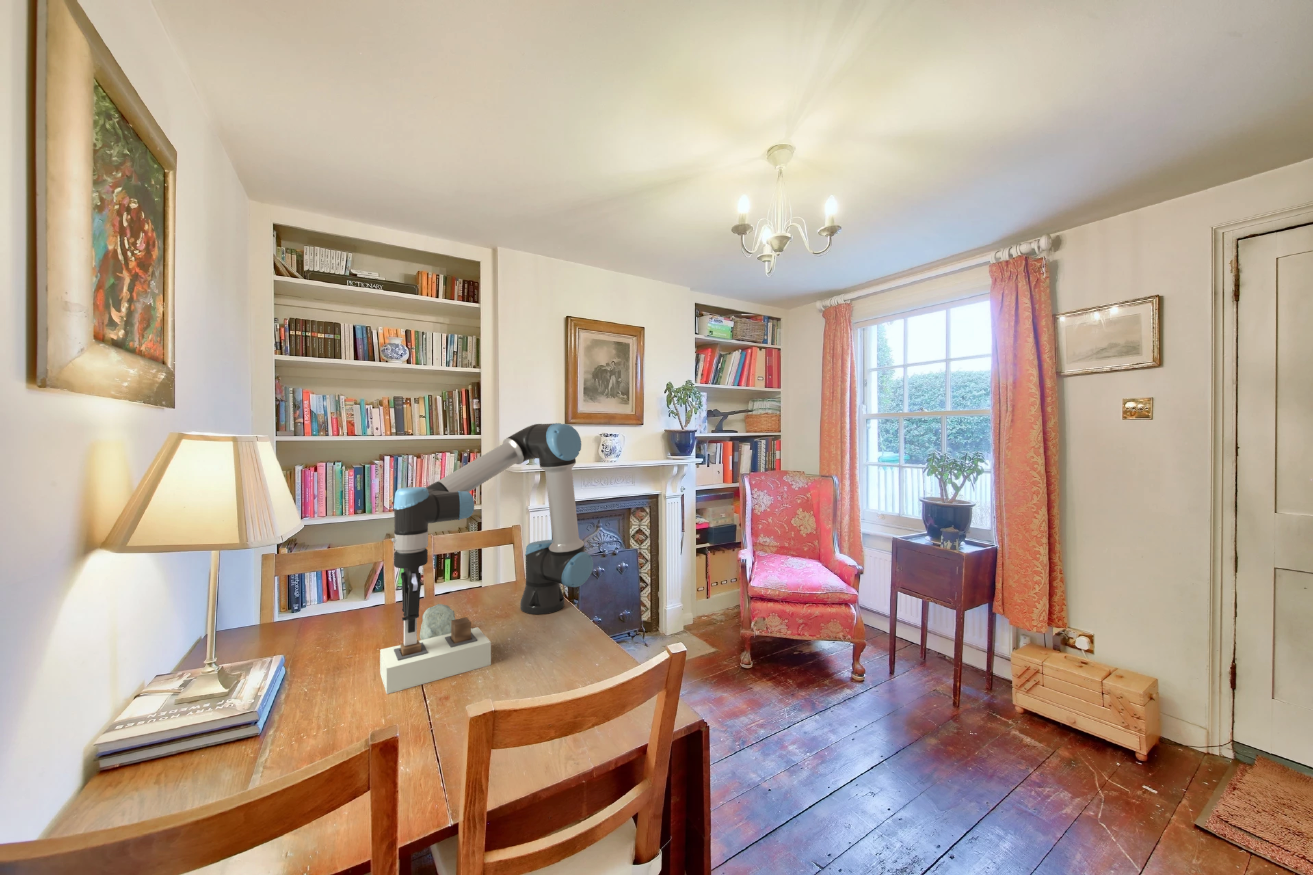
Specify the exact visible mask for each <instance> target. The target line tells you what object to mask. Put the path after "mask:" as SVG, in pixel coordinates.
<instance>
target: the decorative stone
mask: <svg viewBox="0 0 1313 875" xmlns="http://www.w3.org/2000/svg"><path fill="white" fill-rule="evenodd" d="M455 616H456V615H455V611H454V610H453V609H452V608H451V607H450V606H449V605H446V604H444V603H438V604H435V605H434V606H430V607H428V608H427V609H425V611H424V612H423V614H422V621H421V624H420V632H419V638H420V640H424V639H428V638H433V637H437V636H441V635H446V634H450V633H451V620H456V617H455Z"/></svg>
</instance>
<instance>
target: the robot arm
mask: <svg viewBox="0 0 1313 875" xmlns="http://www.w3.org/2000/svg"><path fill="white" fill-rule="evenodd" d="M581 440H582V439H581V436H580V434H579V431H577V429H575V428H574V427H573V425H570V424H566V423H560V422H555V423H553V422H552V423H535V424H531V425H529V426H526V427H524V428H523V429H521V430H519V431H517V432H515V433H513V434H511V435H510V436H508V437H506V438H504V439H503V441H502V444H501V445H499V446H496V447H495V448H494V449H491V450H489V451H488V452H486V453H485V454H482V455H481V456H479V457H477V458H475V459H474V460H473V461H471V462H469V463H467V464H466V465H464V466H462V467H460V468H458V469H457V470H455V471H453V472H451V473H449V474H448V475H446V476H444V477H443V478H441V479H438V480H437V481H435V482H433V483H432V484H430V485H428V486H426V487H425V486H413V487H412V486H409V487H400V488H398V489H397V490H396V491H395V492H394V493H395V495H394V499H393V500H394V502H393V503H394V504H393V509H394V510H393V511H394V512H393V513H394V514H393V518H394V519H393V520H394V522H393V523H394V524H393V525H394V533H393V534H394V537H392V538H391V542H392V543H393V545H394V546H393V549H394V550H395V552H393V566H394V568H397V569H403V571H402V572H401V573H400V579H401V595H402V598H401V599H402V611H401V612H402V613H403V617H401V618H402V619H401V620H402V621H403V643H404V646H407V645H412V644H416V643H417V640H418V639H417V638H418V618H419V617H420V600H421V599H420V597H421V589H422V588H421V587H422V582H421V579H422V573H421V572H420V570H419V568H420V567H423V566H425V565H427V563H428V558H429V557H428V555H429V554H428V552H429V551H428V549H427V547H428V546H429V524H434V523H443V522H450V521H451V522H452V521H461V520H463V519H468V518H470V517H471V516H472V515H473V514H474V511H475V499H474V496H473V495H472V493H471V492H472V491H473V490H474V489H476V488H478V487H479V486H481V485H483V484H484V483H486V482H488V481H489V480H491V479H492V478H493V477H496V476H497V475H499V474H500V473H502V472H504V471H506V470H507V469H509V468H510V467H512V466H513V465H515V464H516V465H521V464H522V463H524V462H526V461H529V460H535V459H538V460H539V462H538V463H539V468H540V469H542V470H543V471H544V472H545V482H546V491H547V499H548V511H549V518H550V527H551V537H552V539H545V540H538V541H537V540H536V541H533V542H529V543H528V544H527V545H526V546H525V547H526V548H525V555H524V556H525V587H524V591H523V593H522V596H521V599H520V603H519V604H520V609H519V610H521V611H522V612H523V613H526V614H531V615H545V614H551V613H555V612H557V611H560V610H562V609H563V608H564V607H565V597H564V593H563V590H562V587H561V585H562V586H564V587H571V588H578V587H580V586H583V585H584V584H585V583H586V582H587V581H588V579H589V577H590V576H591V575H592V573H593V569H594V560H593V557H592V555H590V553H588V552H586V549H585V543H584V541H583V540H582V539H581V538H580V535H579V526H578V516H577V507H576V496H575V488H574V477H573V467H574V466H575V465H576V463H577V462H576V460H577V459H576V458H577V457H579V455H580V452H581V450H582V441H581ZM563 606H564V607H563ZM561 608H562V609H561Z"/></svg>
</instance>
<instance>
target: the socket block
mask: <svg viewBox="0 0 1313 875" xmlns="http://www.w3.org/2000/svg"><path fill="white" fill-rule="evenodd" d="M419 642H420V644H421V652H418V653H414V654H410V655H406V656H402V655H401V644H399V645H394V646H390V647H385V648H381V649H380V650H379V652H380V653H379V664H380V665H379V668H380V669H379V673H380V677H381V682H382V683H383V686H384V690H385V693H386V695H388V694H389V695H390V694H392V693H396V692H399V691H400V692H401V691H403V690H407V689H410V688H414V687H417V686H420V685H425V684H427V683H431V682H436V681H439V680H441V679H445V678H450V677H452V676H455V675H460V674H464V673H467V672H471V671H475V670H478V669H482V668H485V667H489V666H491V665H492V642H491V640H490V639H489V638H488V637H487V636H486V635H485V633H483V631H482V630H481V629H480V628H479V627H478V626H476V627H473V628H472V627H471V640H467V641H463V642H459V643H455V644H454V643H453V642H452V640H451V633H450V634H446V635H441V636H437V637H433V638H428V639H424V640H421V639H420V640H419Z"/></svg>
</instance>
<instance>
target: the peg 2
mask: <svg viewBox="0 0 1313 875" xmlns="http://www.w3.org/2000/svg"><path fill="white" fill-rule="evenodd" d="M471 629H472V621H471V620H470V619H469V618H468V617H462V618H455V620H451V640H452V642H453V643H454V644H455V643H459V642H463V641H467V640H471Z"/></svg>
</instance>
